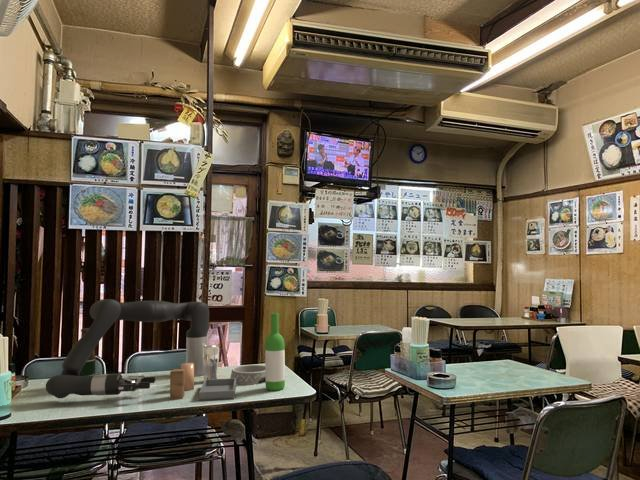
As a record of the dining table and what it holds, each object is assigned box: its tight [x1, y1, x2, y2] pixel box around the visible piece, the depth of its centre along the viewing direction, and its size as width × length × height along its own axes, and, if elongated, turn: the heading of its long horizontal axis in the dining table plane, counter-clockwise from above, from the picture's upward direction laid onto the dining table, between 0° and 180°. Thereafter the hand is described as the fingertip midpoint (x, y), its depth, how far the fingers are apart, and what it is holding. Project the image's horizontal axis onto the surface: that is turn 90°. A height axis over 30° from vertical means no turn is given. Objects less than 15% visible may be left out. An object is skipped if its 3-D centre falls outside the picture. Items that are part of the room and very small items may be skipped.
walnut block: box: [169, 368, 185, 400], centre depth 175 cm, size 4×4×10 cm
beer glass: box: [203, 344, 220, 383], centre depth 200 cm, size 7×7×15 cm
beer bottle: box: [79, 327, 96, 376], centre depth 195 cm, size 8×8×24 cm
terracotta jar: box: [180, 362, 195, 392], centre depth 187 cm, size 5×5×10 cm
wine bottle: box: [264, 312, 286, 392], centre depth 186 cm, size 8×8×30 cm
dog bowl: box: [229, 364, 266, 386], centre depth 201 cm, size 17×18×5 cm
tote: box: [198, 378, 237, 401], centre depth 180 cm, size 21×13×3 cm, turn 8°
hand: (152, 382), depth 174 cm, fingers open, 8 cm apart
